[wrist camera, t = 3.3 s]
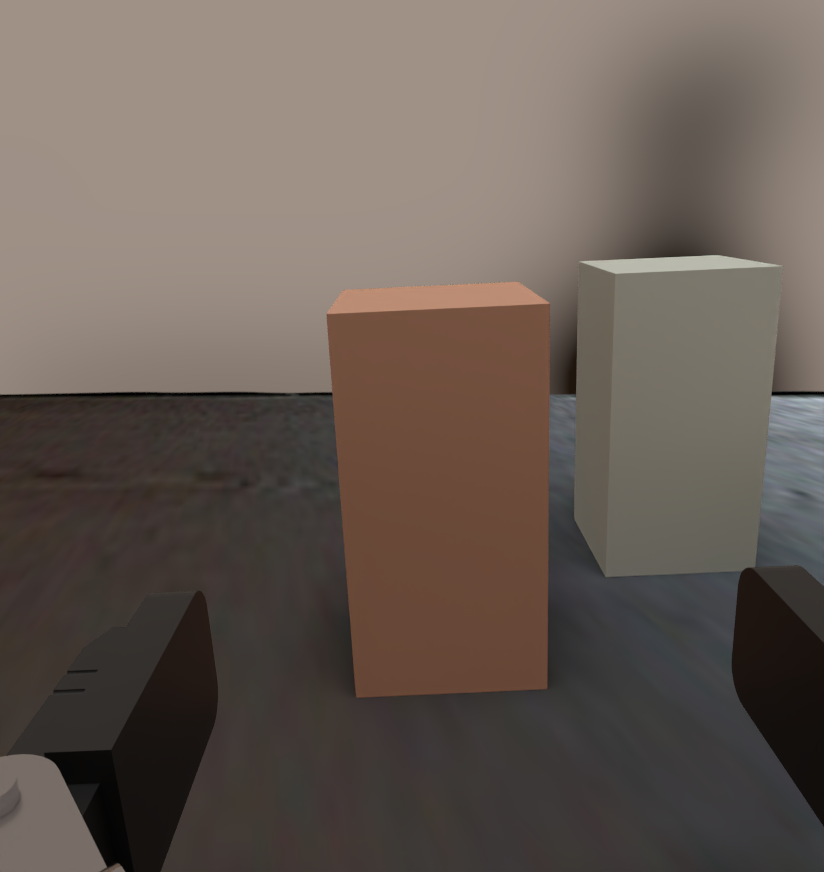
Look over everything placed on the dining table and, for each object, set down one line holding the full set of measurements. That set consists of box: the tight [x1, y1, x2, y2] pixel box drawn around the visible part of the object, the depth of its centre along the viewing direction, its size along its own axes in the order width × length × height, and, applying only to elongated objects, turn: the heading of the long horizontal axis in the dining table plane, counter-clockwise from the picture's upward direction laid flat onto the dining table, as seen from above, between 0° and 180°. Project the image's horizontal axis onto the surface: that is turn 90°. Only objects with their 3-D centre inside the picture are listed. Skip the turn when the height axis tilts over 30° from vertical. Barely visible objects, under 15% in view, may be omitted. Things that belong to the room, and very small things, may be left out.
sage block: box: [574, 255, 783, 577], centre depth 27 cm, size 5×5×10 cm
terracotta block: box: [327, 282, 550, 698], centre depth 21 cm, size 5×5×10 cm
